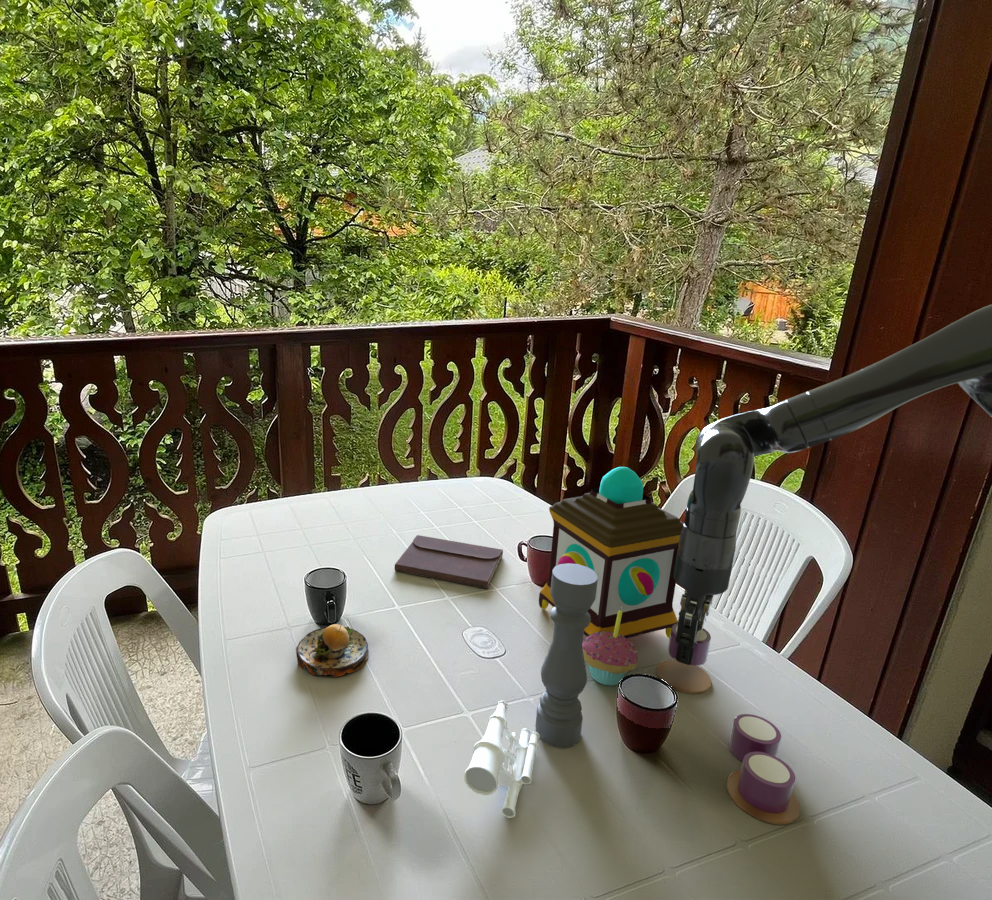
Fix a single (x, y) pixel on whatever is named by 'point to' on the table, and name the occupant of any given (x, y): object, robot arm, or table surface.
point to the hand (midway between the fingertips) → (687, 651)
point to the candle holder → (566, 656)
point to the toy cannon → (502, 760)
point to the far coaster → (684, 676)
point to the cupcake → (609, 655)
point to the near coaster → (772, 818)
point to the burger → (332, 651)
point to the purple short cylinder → (766, 782)
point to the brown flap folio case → (450, 561)
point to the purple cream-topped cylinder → (700, 647)
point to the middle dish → (753, 736)
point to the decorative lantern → (619, 554)
